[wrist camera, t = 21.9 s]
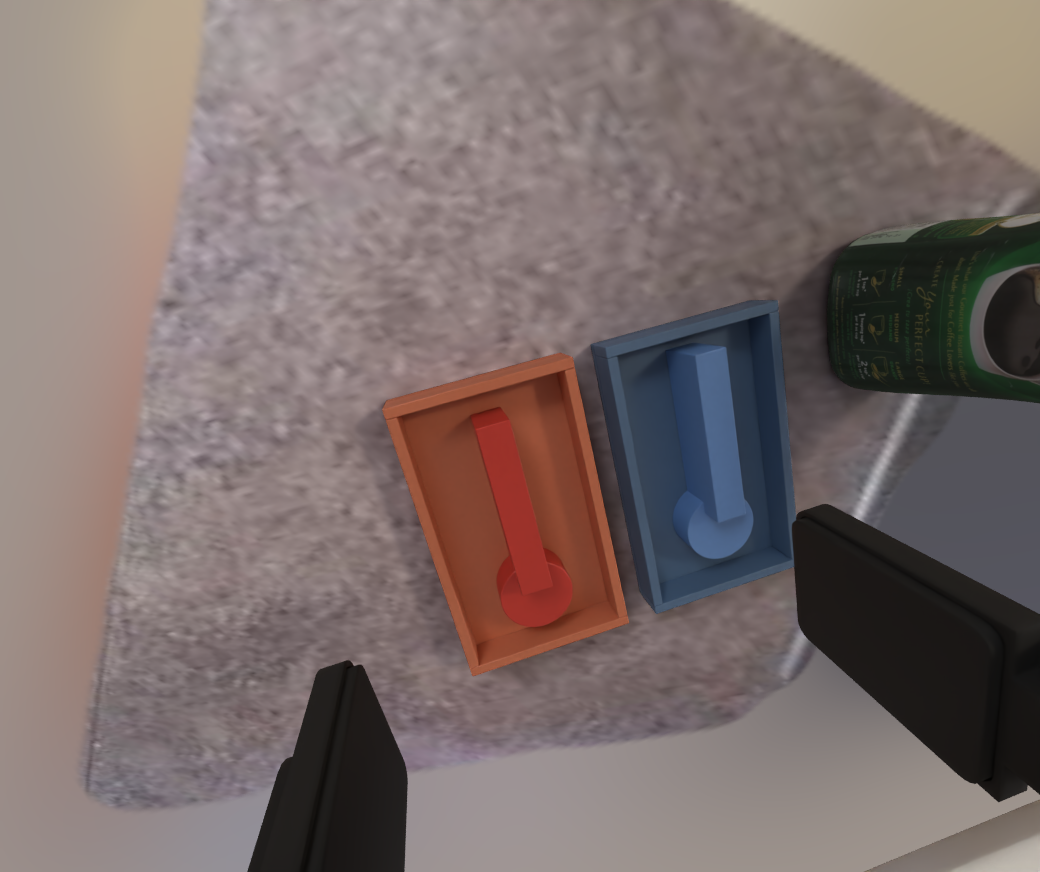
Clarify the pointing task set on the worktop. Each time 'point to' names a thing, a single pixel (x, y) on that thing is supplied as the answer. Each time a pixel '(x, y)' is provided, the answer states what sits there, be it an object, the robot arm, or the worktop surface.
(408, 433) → the tray orange
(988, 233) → the coffee jar
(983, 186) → the worktop surface
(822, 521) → the robot arm
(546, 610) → the red bar with disc
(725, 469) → the blue bar with disc
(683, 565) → the tray blue
